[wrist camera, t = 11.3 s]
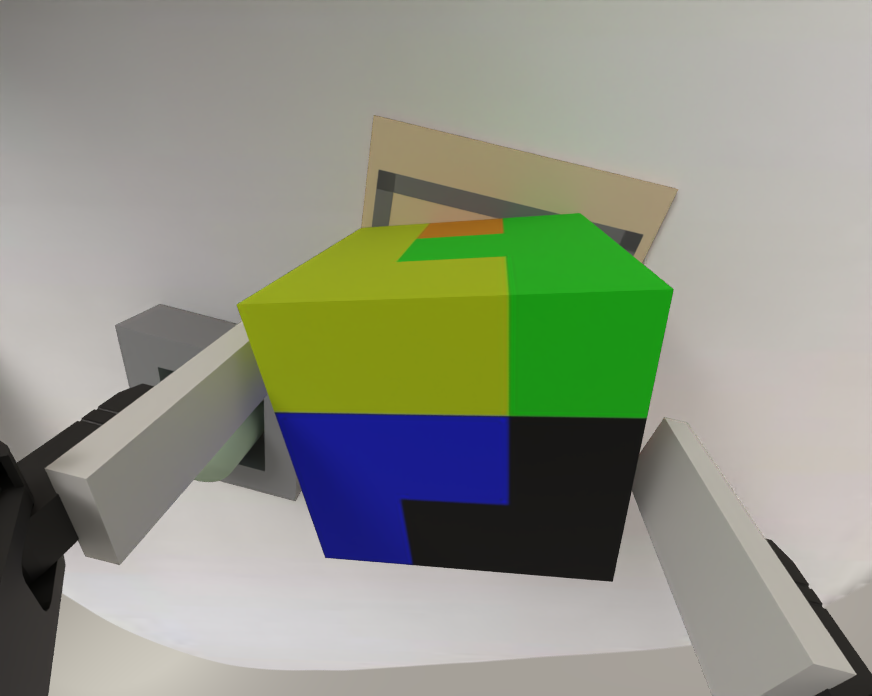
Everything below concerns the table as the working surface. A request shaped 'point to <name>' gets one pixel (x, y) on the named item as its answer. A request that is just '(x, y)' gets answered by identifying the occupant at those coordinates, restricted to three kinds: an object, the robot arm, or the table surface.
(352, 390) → the puzzle toy
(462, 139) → the sheet
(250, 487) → the button box
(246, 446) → the button
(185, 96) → the table surface
